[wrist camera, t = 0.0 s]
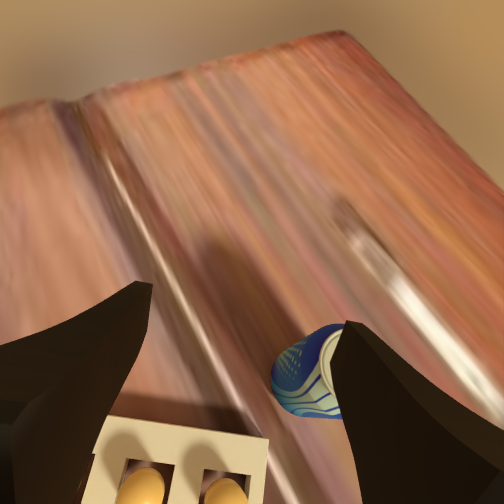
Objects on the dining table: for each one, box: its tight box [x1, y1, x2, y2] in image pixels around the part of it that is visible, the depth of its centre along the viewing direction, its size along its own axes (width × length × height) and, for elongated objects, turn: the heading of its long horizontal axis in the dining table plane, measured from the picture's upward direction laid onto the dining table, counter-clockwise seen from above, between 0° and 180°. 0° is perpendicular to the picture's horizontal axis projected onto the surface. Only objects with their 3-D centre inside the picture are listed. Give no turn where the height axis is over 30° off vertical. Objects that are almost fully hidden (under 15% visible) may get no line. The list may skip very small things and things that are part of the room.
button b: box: [116, 467, 165, 504], centre depth 32 cm, size 4×4×3 cm
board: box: [81, 414, 269, 504], centre depth 35 cm, size 12×24×3 cm, turn 81°
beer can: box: [271, 324, 345, 419], centre depth 36 cm, size 8×8×16 cm
